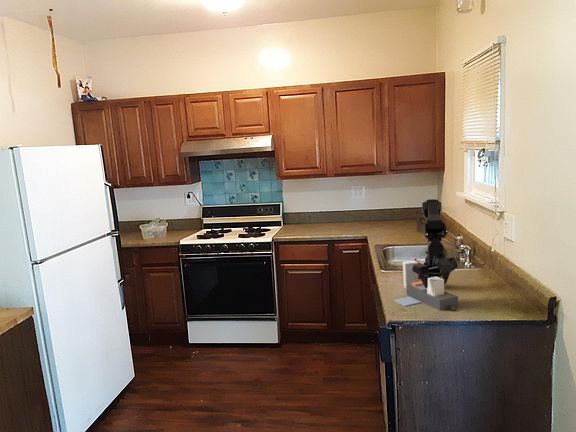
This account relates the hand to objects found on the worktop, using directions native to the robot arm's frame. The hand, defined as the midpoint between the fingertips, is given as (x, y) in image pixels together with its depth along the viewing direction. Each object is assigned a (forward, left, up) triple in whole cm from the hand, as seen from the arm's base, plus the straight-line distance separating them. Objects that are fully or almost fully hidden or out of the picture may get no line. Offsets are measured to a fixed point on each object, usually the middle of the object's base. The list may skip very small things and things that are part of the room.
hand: (435, 286), depth 183 cm
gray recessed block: (0, -1, -7) cm, 7 cm away
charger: (0, 0, -4) cm, 4 cm away
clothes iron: (-88, -123, -7) cm, 152 cm away
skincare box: (-3, -22, -7) cm, 23 cm away
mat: (+10, -6, -7) cm, 13 cm away
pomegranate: (-15, -34, -7) cm, 38 cm away
